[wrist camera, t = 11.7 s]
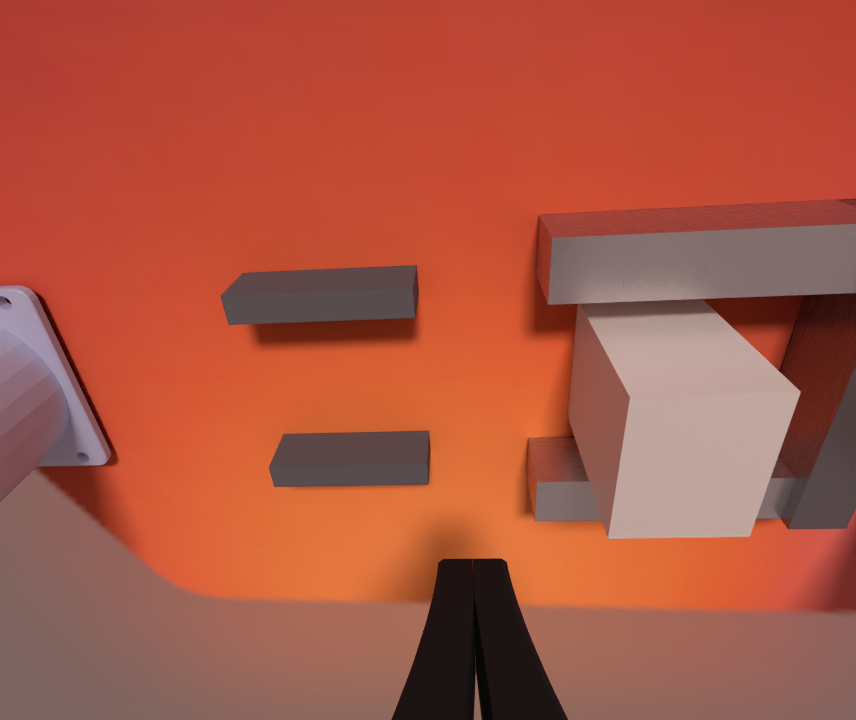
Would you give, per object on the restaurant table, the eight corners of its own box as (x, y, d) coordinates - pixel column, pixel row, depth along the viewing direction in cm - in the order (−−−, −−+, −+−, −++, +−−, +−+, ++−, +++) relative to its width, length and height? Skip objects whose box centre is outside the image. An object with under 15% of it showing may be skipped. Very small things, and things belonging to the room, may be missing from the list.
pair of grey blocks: (288, 452, 22) (274, 486, 20) (242, 273, 18) (220, 295, 16) (430, 450, 21) (428, 484, 20) (416, 265, 17) (412, 287, 16)
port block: (526, 475, 22) (536, 531, 19) (539, 214, 16) (555, 243, 14) (797, 471, 21) (846, 528, 18) (906, 196, 16) (996, 223, 13)
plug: (567, 416, 20) (608, 538, 15) (577, 299, 18) (629, 397, 13) (672, 413, 20) (749, 536, 15) (697, 294, 18) (800, 391, 12)
